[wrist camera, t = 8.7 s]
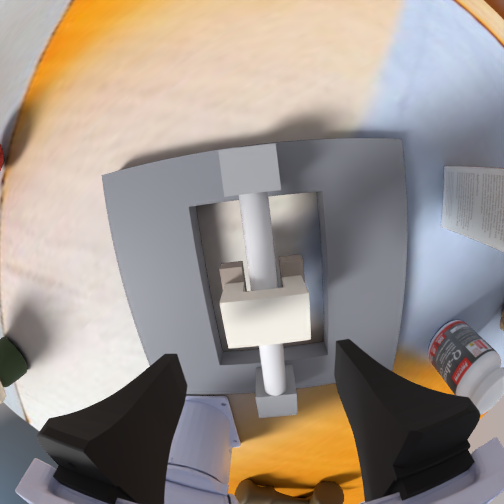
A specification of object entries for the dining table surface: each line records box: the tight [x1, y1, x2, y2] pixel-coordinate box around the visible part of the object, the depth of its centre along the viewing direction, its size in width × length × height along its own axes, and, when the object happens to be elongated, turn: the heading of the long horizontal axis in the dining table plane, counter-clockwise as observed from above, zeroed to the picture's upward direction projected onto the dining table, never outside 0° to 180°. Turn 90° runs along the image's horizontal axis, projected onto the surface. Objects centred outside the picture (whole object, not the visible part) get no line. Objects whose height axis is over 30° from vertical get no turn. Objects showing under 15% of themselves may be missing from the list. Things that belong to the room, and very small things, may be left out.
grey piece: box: [102, 138, 407, 418], centre depth 19 cm, size 20×22×6 cm
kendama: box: [235, 479, 344, 504], centre depth 29 cm, size 6×10×20 cm
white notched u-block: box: [219, 254, 311, 348], centre depth 17 cm, size 5×5×4 cm
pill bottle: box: [428, 320, 504, 415], centre depth 18 cm, size 6×6×10 cm
